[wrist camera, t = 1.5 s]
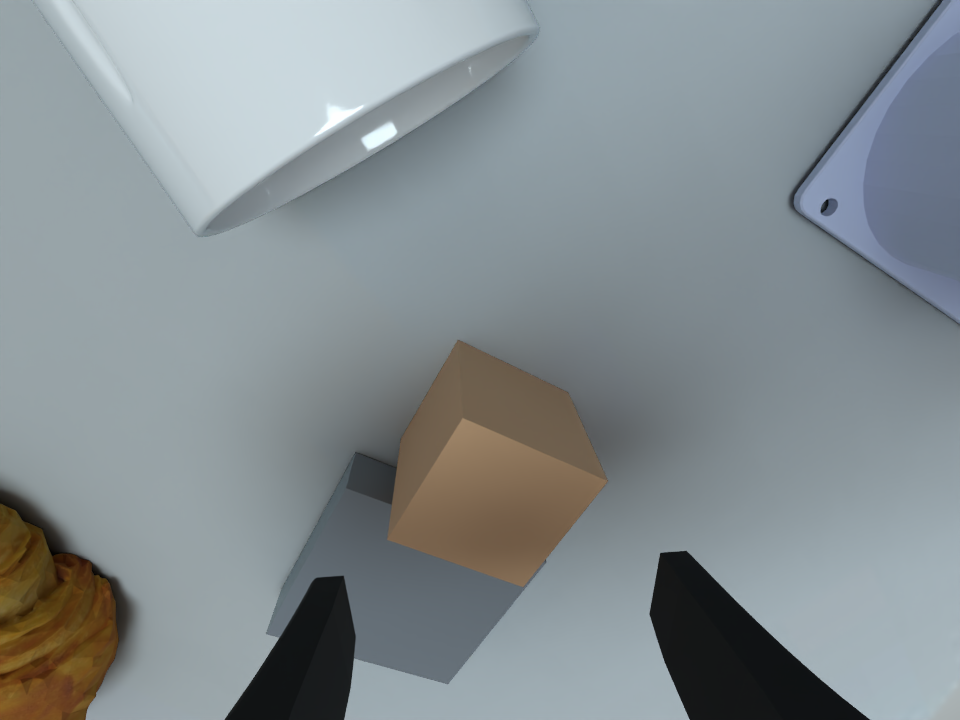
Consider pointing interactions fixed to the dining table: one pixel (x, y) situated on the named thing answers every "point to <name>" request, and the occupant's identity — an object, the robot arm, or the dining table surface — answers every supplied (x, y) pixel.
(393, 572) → the slate coaster
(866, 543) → the dining table surface
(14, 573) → the croissant
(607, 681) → the dining table surface
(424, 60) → the white cup
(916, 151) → the robot arm
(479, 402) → the tan rectangular block
